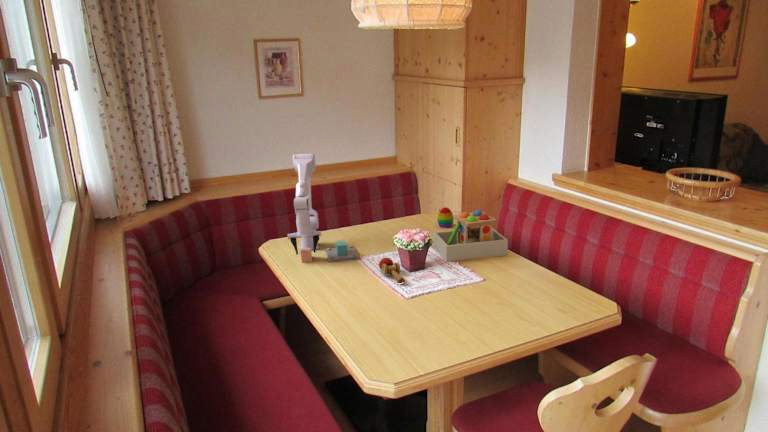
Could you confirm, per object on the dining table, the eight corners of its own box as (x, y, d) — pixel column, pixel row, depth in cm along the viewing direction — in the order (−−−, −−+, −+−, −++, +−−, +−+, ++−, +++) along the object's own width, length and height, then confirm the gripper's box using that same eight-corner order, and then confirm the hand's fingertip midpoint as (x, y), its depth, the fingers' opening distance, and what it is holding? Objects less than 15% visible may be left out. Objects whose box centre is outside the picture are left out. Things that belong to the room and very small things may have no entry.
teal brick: (336, 250, 248) (335, 241, 247) (345, 249, 249) (345, 240, 247) (337, 255, 242) (337, 246, 241) (347, 254, 243) (347, 245, 242)
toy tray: (433, 246, 253) (433, 232, 250) (490, 240, 258) (490, 226, 256) (446, 261, 235) (446, 246, 233) (507, 254, 240) (507, 239, 238)
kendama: (411, 285, 216) (392, 264, 231) (409, 272, 213) (390, 251, 228) (394, 292, 214) (376, 270, 229) (392, 279, 211) (374, 257, 226)
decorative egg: (456, 227, 278) (456, 208, 275) (441, 229, 276) (441, 210, 273) (449, 223, 285) (449, 204, 282) (435, 224, 283) (435, 206, 280)
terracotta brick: (300, 258, 245) (300, 248, 243) (310, 257, 245) (310, 247, 244) (301, 262, 239) (301, 253, 238) (312, 261, 240) (311, 252, 238)
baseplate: (325, 251, 251) (325, 247, 251) (353, 248, 254) (353, 244, 253) (329, 262, 238) (329, 258, 238) (358, 259, 241) (358, 255, 240)
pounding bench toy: (448, 261, 235) (449, 221, 230) (435, 250, 248) (435, 212, 243) (496, 253, 242) (497, 215, 237) (480, 243, 255) (481, 206, 250)
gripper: (287, 227, 232) (289, 257, 236) (321, 224, 235) (323, 254, 239) (286, 222, 239) (288, 252, 243) (319, 220, 241) (321, 248, 245)
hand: (305, 252), depth 241 cm, fingers open, 7 cm apart
